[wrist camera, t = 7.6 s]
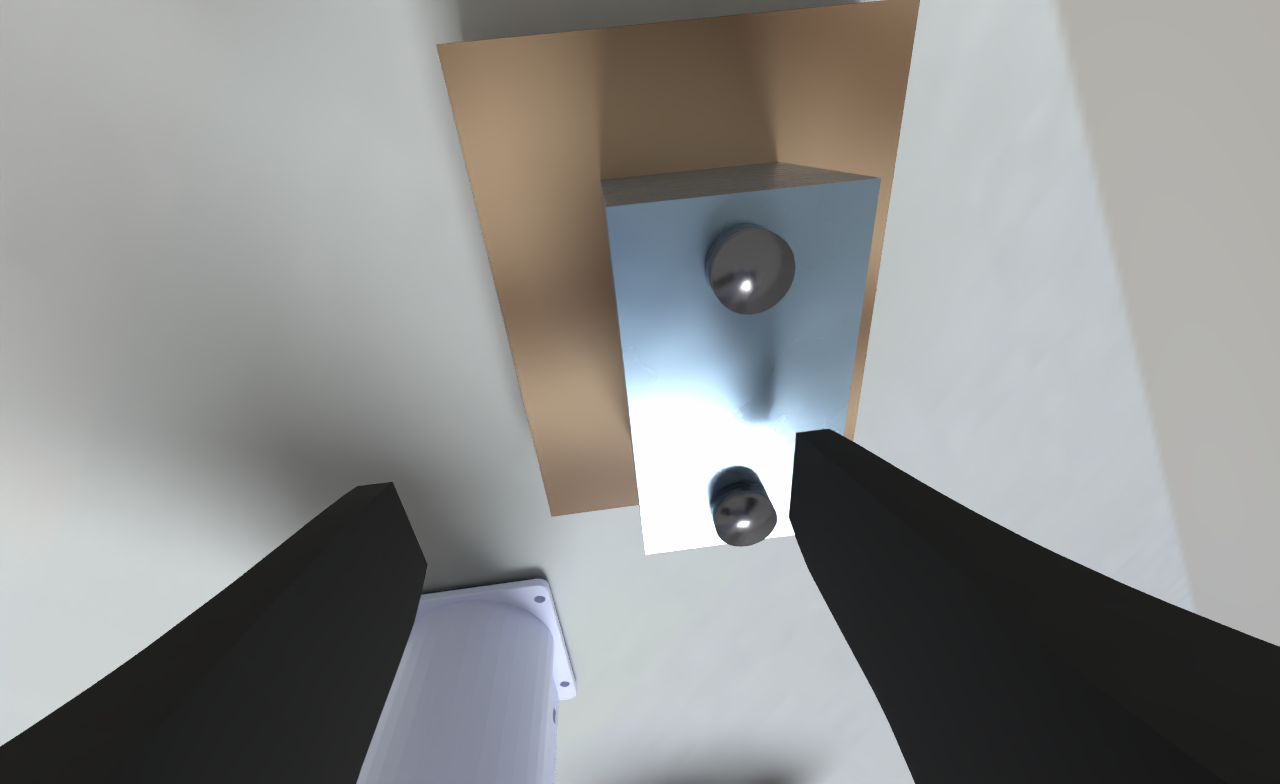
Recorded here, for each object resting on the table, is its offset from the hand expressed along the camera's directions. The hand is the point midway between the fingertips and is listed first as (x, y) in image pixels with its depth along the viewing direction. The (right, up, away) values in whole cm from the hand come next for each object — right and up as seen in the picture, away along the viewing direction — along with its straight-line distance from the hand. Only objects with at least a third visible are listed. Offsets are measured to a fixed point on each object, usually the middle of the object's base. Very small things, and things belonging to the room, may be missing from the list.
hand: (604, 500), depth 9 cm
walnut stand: (+2, +6, +8) cm, 10 cm away
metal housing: (+2, +4, +5) cm, 7 cm away
